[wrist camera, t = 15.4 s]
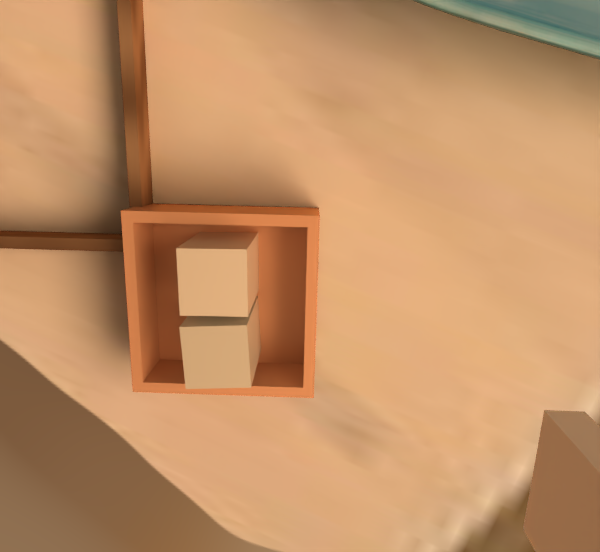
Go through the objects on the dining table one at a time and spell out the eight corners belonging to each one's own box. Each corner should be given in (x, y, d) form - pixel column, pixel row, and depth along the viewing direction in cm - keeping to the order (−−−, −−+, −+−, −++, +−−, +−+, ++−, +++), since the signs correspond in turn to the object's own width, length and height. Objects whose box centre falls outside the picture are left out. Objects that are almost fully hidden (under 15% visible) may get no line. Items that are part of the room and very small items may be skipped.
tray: (-73, -82, 30) (-103, -100, 28) (138, -79, 29) (124, -97, 27) (-27, 240, 35) (-49, 246, 32) (154, 246, 34) (144, 252, 32)
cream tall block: (202, 288, 34) (179, 315, 28) (199, 231, 33) (176, 248, 27) (259, 288, 34) (247, 316, 28) (258, 232, 33) (246, 249, 27)
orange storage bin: (145, 203, 34) (120, 210, 29) (318, 207, 33) (319, 215, 29) (154, 363, 37) (132, 391, 32) (313, 368, 36) (313, 397, 32)
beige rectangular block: (206, 350, 35) (185, 389, 29) (201, 297, 34) (179, 327, 29) (261, 349, 35) (251, 387, 29) (258, 296, 34) (246, 325, 28)
